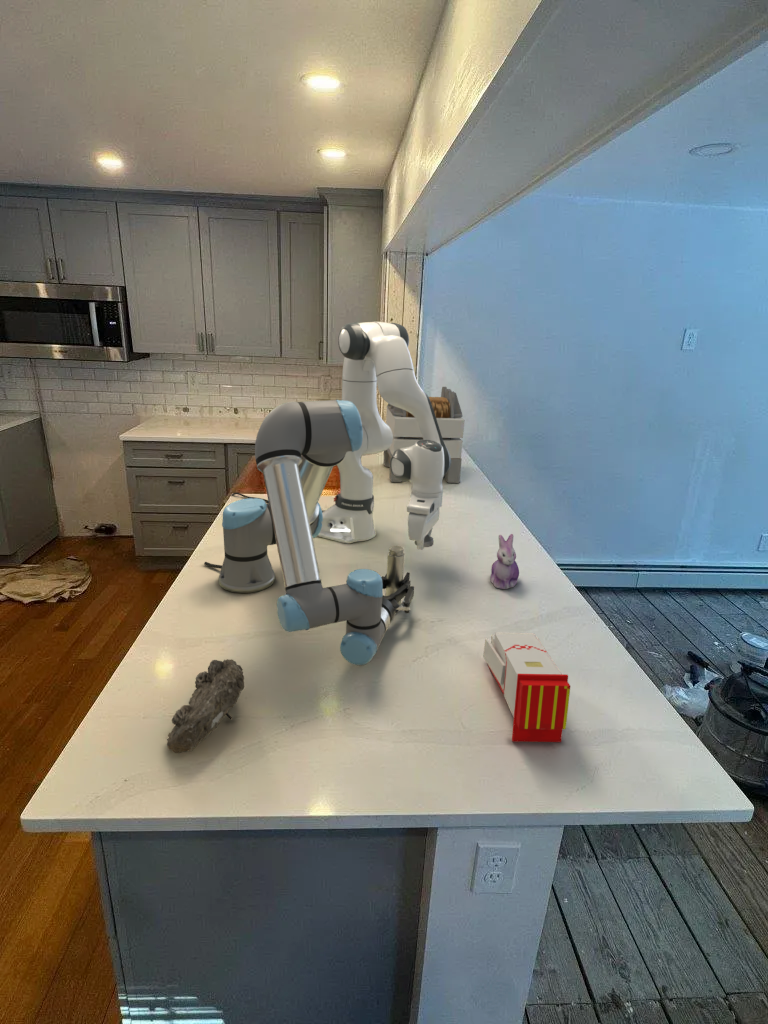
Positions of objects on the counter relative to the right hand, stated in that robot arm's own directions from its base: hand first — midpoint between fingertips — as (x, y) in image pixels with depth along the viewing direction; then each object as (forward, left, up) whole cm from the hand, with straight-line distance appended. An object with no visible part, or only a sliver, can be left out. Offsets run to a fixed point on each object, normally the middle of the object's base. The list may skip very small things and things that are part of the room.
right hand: (423, 544), depth 163 cm
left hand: (-4, -13, -5) cm, 14 cm away
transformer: (-26, +112, -11) cm, 116 cm away
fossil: (-25, -71, -11) cm, 77 cm away
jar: (-4, -18, -11) cm, 22 cm away
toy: (+31, -45, -11) cm, 56 cm away
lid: (0, 0, +2) cm, 2 cm away
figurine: (+24, +7, -11) cm, 27 cm away
